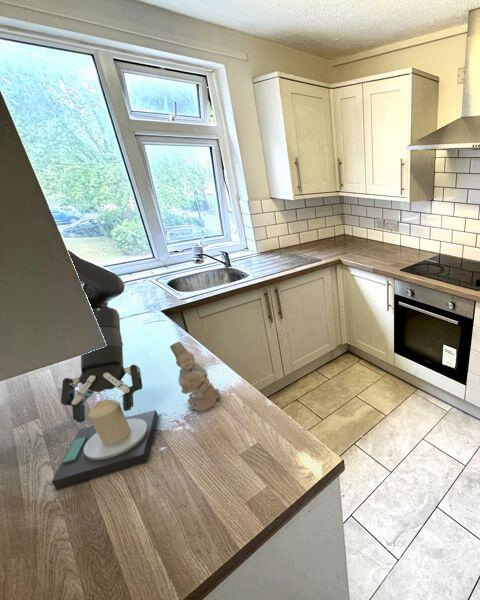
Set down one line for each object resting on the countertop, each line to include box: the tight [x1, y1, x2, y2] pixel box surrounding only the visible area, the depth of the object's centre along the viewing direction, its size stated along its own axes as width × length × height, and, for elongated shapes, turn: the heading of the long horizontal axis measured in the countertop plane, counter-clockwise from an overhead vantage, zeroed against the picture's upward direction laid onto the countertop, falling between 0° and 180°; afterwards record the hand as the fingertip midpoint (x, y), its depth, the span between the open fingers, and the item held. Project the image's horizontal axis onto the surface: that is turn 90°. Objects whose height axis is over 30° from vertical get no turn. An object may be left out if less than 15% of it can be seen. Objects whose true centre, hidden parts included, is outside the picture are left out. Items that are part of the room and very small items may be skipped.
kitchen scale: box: [51, 409, 159, 490], centre depth 79 cm, size 16×16×3 cm
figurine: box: [169, 341, 220, 412], centre depth 91 cm, size 9×8×20 cm
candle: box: [87, 399, 131, 445], centre depth 77 cm, size 6×6×10 cm
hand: (104, 415), depth 75 cm, fingers open, 8 cm apart
